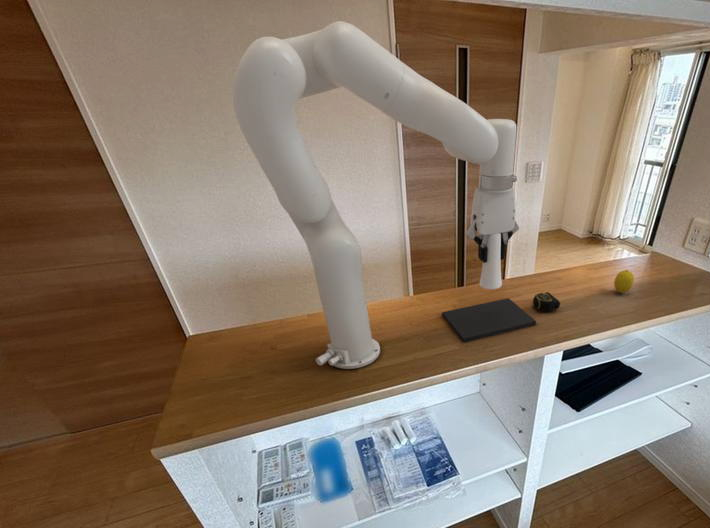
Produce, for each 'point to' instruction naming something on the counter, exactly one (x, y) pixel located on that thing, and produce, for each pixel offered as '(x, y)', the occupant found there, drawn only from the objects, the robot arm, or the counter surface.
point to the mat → (487, 319)
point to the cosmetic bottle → (492, 263)
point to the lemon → (624, 281)
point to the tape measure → (545, 302)
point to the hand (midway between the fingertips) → (491, 258)
